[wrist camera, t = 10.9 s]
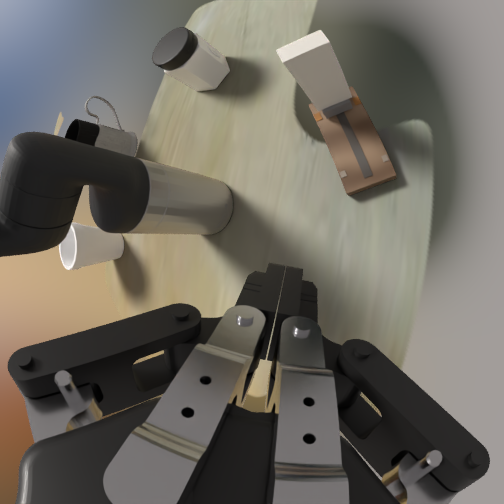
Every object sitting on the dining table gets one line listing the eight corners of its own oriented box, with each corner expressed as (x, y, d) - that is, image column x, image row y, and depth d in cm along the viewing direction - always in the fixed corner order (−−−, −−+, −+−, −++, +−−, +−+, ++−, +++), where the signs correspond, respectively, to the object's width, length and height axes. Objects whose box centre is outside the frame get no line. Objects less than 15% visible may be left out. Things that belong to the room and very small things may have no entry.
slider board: (396, 178, 32) (396, 174, 30) (348, 195, 35) (346, 193, 34) (354, 92, 34) (352, 86, 32) (312, 110, 37) (308, 104, 35)
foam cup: (132, 255, 56) (80, 258, 44) (112, 271, 60) (64, 276, 48) (121, 216, 58) (71, 213, 46) (102, 235, 62) (56, 235, 50)
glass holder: (112, 167, 60) (59, 158, 46) (126, 112, 57) (76, 95, 44) (132, 168, 56) (73, 157, 42) (147, 108, 54) (93, 87, 40)
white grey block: (356, 106, 32) (331, 45, 19) (323, 120, 34) (284, 66, 22) (346, 90, 32) (318, 27, 20) (315, 103, 34) (274, 47, 22)
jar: (234, 78, 43) (192, 45, 32) (198, 100, 47) (153, 75, 36) (223, 49, 44) (185, 18, 33) (191, 70, 48) (150, 45, 37)
